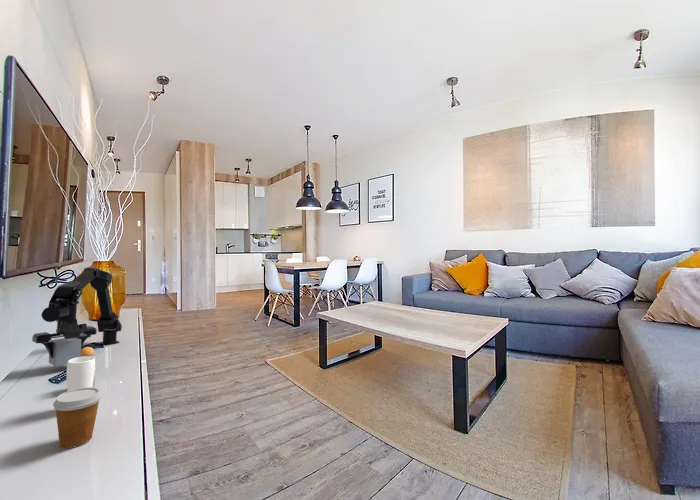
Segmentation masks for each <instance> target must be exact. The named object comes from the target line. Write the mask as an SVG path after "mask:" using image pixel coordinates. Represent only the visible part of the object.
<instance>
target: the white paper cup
mask: <svg viewBox="0 0 700 500" xmlns="http://www.w3.org/2000/svg"><path fill="white" fill-rule="evenodd" d="M95 368H96V356H83V357H77V358H73V359H70V360H69V361H68V362H67V364H66V388H67V389H66V390H67V391H66V392H68V391H71V390H74V389H79V388H87V387H93V380H94V374H95Z"/></svg>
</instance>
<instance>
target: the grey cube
mask: <svg viewBox="0 0 700 500" xmlns="http://www.w3.org/2000/svg"><path fill="white" fill-rule="evenodd" d="M51 341H53V342H54V343H53V358H51V357H50V355H49V354H48V363H49V364H50V365H52V366H54V367H60V366H64V365H66V366H67V362H68V361H69V360H70V359H73V358H77V357H81V350H82V347H81V341H82V340H81V339H79V338H76V337H74V338H70V339H65V338H64V337H61V338H54V339H52V340H51Z"/></svg>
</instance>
